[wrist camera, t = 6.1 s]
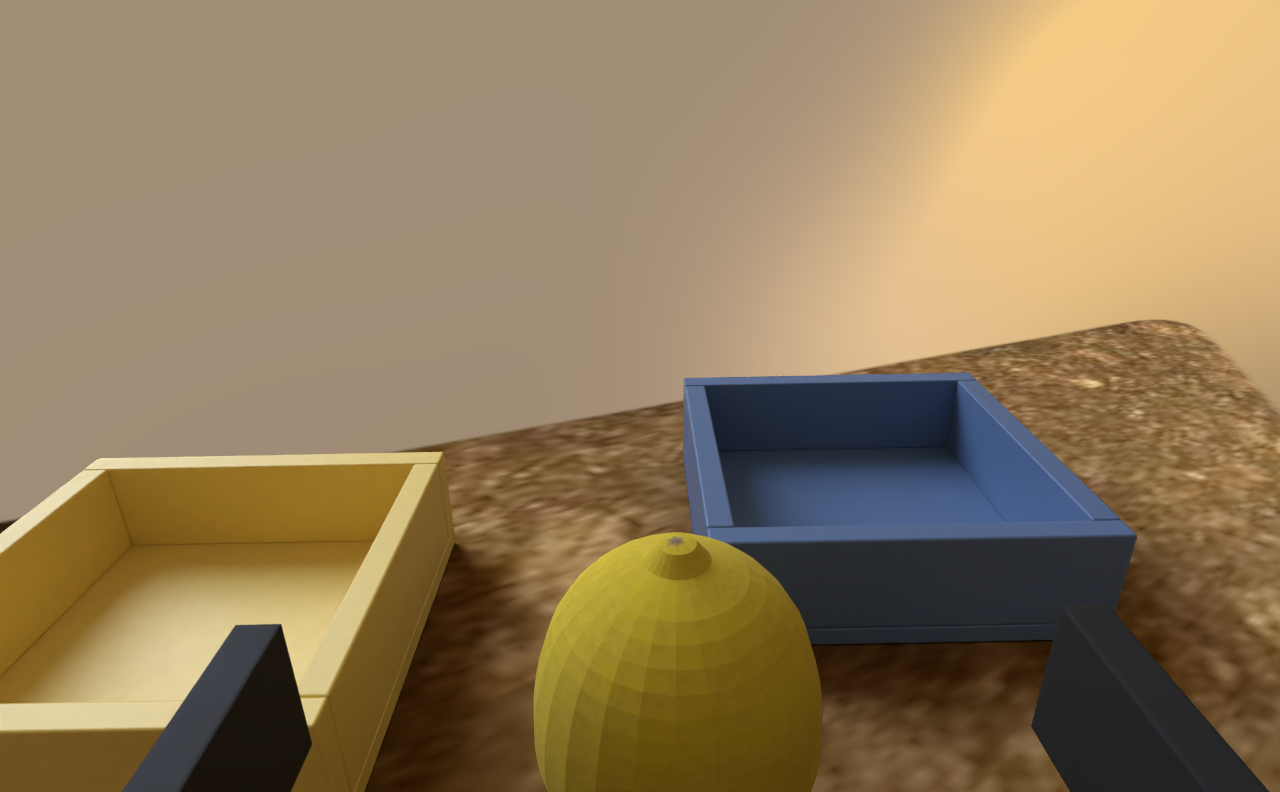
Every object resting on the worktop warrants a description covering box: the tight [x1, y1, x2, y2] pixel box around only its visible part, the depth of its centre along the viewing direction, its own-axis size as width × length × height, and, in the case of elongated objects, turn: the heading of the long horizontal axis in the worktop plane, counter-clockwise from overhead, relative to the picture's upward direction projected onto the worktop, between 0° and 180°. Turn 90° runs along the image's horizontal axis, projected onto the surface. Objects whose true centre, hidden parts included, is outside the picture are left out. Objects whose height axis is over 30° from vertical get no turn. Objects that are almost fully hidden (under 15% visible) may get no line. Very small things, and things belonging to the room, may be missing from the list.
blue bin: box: [683, 373, 1137, 645], centre depth 27 cm, size 12×12×4 cm
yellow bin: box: [0, 452, 455, 792], centre depth 21 cm, size 12×12×4 cm
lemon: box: [534, 532, 823, 792], centre depth 15 cm, size 6×6×8 cm
